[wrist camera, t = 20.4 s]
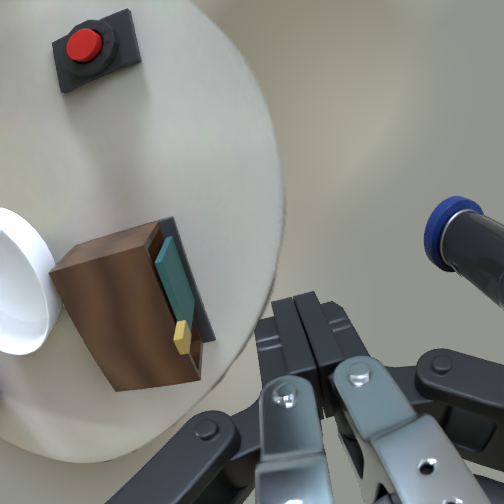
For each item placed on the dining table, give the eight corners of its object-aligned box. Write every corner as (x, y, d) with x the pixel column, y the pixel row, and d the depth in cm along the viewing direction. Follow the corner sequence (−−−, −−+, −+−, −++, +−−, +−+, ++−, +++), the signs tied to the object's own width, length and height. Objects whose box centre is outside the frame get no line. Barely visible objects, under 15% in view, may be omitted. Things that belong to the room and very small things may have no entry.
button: (99, 27, 25) (93, 23, 23) (104, 54, 26) (99, 51, 25) (71, 40, 25) (64, 37, 24) (76, 67, 27) (69, 65, 25)
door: (173, 235, 37) (156, 275, 27) (196, 300, 40) (189, 353, 31) (165, 237, 37) (146, 278, 27) (188, 302, 40) (180, 355, 31)
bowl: (90, 233, 37) (62, 261, 29) (63, 341, 43) (43, 377, 35) (-17, 176, 32) (-56, 191, 24) (-28, 287, 38) (-56, 313, 30)
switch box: (130, 11, 27) (123, 3, 24) (141, 61, 30) (134, 56, 27) (56, 44, 27) (44, 40, 24) (65, 93, 30) (53, 92, 27)
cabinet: (173, 216, 37) (160, 240, 29) (215, 337, 44) (215, 378, 37) (75, 245, 37) (48, 272, 30) (128, 354, 44) (115, 391, 37)
